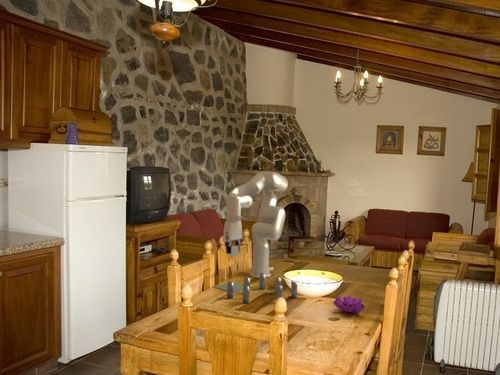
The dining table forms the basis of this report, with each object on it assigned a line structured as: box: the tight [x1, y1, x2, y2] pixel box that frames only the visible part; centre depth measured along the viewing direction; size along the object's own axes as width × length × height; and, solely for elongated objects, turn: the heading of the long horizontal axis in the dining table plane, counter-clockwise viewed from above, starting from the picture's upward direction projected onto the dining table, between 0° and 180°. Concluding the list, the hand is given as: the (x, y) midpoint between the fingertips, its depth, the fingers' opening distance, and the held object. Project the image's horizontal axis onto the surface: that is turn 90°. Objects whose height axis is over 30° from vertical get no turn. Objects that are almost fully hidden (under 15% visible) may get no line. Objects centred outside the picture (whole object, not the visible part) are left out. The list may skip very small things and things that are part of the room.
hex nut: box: [226, 243, 240, 257], centre depth 246 cm, size 6×6×5 cm
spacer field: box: [226, 273, 298, 305], centre depth 230 cm, size 27×24×8 cm
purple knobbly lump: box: [333, 295, 366, 314], centre depth 212 cm, size 11×15×10 cm
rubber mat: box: [213, 282, 251, 294], centre depth 247 cm, size 14×14×1 cm
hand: (232, 252), depth 246 cm, fingers closed on hex nut, 5 cm apart
